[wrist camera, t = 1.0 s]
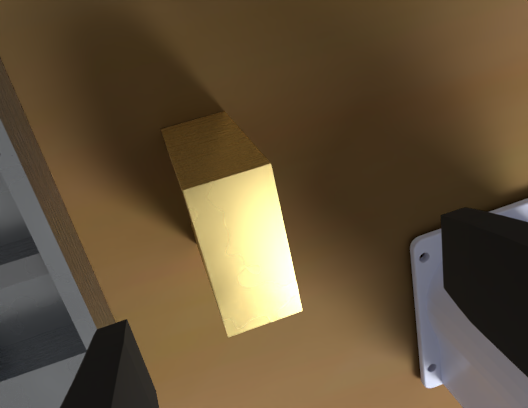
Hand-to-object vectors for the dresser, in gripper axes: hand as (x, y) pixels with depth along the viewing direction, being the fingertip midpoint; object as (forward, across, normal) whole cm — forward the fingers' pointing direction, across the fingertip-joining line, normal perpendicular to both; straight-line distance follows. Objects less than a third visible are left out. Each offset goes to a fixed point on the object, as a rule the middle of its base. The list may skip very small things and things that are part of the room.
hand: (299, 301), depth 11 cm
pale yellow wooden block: (+9, 0, +1) cm, 9 cm away
